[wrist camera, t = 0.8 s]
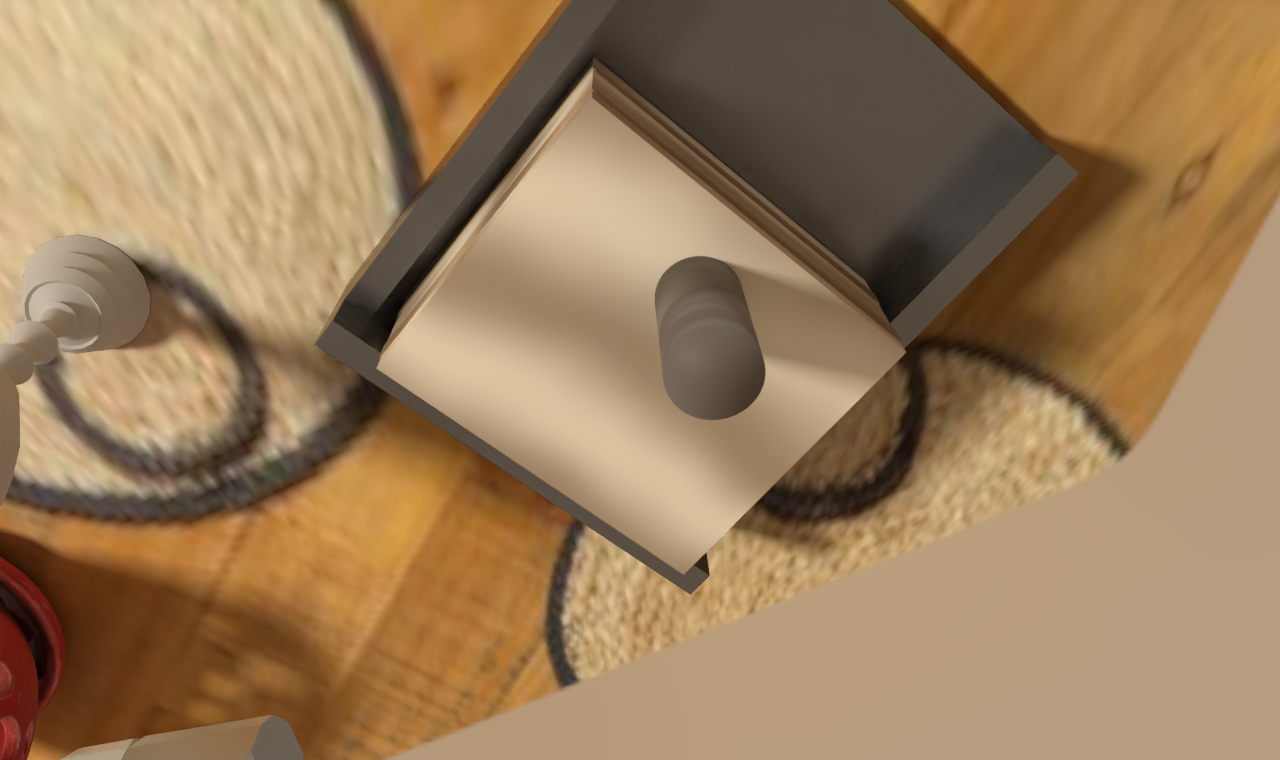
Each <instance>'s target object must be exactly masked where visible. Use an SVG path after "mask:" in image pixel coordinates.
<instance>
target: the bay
mask: <svg viewBox="0 0 1280 760" xmlns="http://www.w3.org/2000/svg"><path fill="white" fill-rule="evenodd" d="M593 56H594V57H595V58H596V59H597V60H599V61H600V62H601V63H602V64H603V65H605V66H606V67H607V68H608V69H609V70H611V71H612V72H613V73H614V74H615V75H617V76H618V77H619V78H620V79H622V80H623V81H624V82H625V83H626V84H628V85H629V86H630V87H631V88H632V89H634V90H635V91H636V92H637V93H639V94H640V95H641V96H642V97H643V98H645V99H646V100H647V101H648V102H649V103H651V104H652V105H653V106H654V107H656V108H657V109H658V110H659V111H660V112H662V113H663V114H664V115H665V116H666V117H668V118H669V119H670V120H671V121H673V122H674V123H675V124H676V125H677V126H679V127H680V128H681V129H682V130H683V131H685V132H686V133H687V134H688V135H689V136H691V137H692V138H693V139H694V140H696V141H697V142H698V143H699V144H700V145H702V146H703V147H704V148H705V149H706V150H708V151H709V152H710V153H711V154H713V155H714V156H715V157H716V158H717V159H719V160H720V161H721V162H722V163H723V164H725V165H726V166H727V167H728V168H730V169H731V170H732V171H733V172H734V173H736V174H737V175H738V176H739V177H740V178H742V179H743V180H744V181H745V182H746V183H748V184H749V185H750V186H751V187H753V188H754V189H755V190H756V191H757V192H759V193H760V194H761V195H762V196H763V197H765V198H766V199H767V200H768V201H770V202H771V203H772V204H773V205H774V206H776V207H777V208H778V209H779V210H780V211H782V212H783V213H784V214H785V215H787V216H788V217H789V218H790V219H791V220H793V221H794V222H795V223H796V224H797V225H799V226H800V227H801V228H802V229H803V230H805V231H806V232H807V233H808V234H810V235H811V236H812V237H813V238H814V239H816V240H817V241H818V242H819V243H820V244H822V245H823V246H824V247H825V248H827V249H828V250H829V251H830V252H831V253H833V254H834V255H835V256H836V257H837V258H839V259H840V260H841V261H842V262H844V263H845V264H846V265H847V266H848V267H850V268H851V269H852V270H853V271H854V272H856V273H857V274H858V275H859V276H860V277H862V278H863V279H864V280H865V281H866V283H867V285H868V286H869V288H870V290H871V291H872V292H873V293H874V294H875V295H876V297H877V299H878V300H879V302H880V304H879V306H880V307H881V309H882V311H883V313H884V314H885V316H886V318H887V320H888V321H889V323H890V325H891V326H892V327H893V328H894V329H895V330H896V332H897V333H898V335H899V337H900V339H901V340H902V341H901V344H902V346H903V347H904V349H905V348H906V347H907V346H908V345H909V344H910V343H911V342H912V341H913V340H914V339H915V338H916V337H917V336H918V335H919V334H920V333H921V332H922V331H923V330H924V329H925V328H926V327H927V326H928V325H929V324H930V323H931V322H932V321H933V320H934V319H935V318H936V317H937V316H938V315H939V314H940V313H941V312H942V311H943V310H944V309H945V308H946V307H947V306H948V305H949V304H950V303H951V302H952V301H953V300H954V299H955V298H956V297H957V296H958V295H959V294H960V293H961V292H962V291H963V290H964V289H965V288H966V287H967V286H968V285H969V284H970V283H971V282H972V281H973V280H974V279H975V278H976V277H977V276H978V275H979V274H980V273H981V272H982V271H983V270H984V269H985V268H986V267H987V266H988V265H989V264H990V263H991V262H992V261H993V260H994V259H995V258H996V257H997V256H998V255H999V254H1000V253H1001V252H1002V251H1003V250H1004V249H1005V248H1006V247H1007V246H1008V245H1009V244H1010V243H1011V242H1012V241H1013V240H1014V239H1015V238H1016V237H1017V236H1018V235H1019V234H1020V233H1021V232H1022V231H1023V230H1024V229H1025V228H1026V227H1027V226H1028V225H1029V224H1030V223H1031V222H1032V221H1033V220H1034V219H1035V218H1036V217H1037V216H1038V215H1039V214H1040V213H1041V212H1042V211H1043V210H1044V209H1045V208H1046V207H1047V206H1048V205H1049V204H1050V203H1051V202H1052V201H1053V200H1054V199H1055V198H1056V197H1057V196H1058V195H1059V194H1060V193H1061V192H1062V191H1063V190H1064V189H1065V188H1066V187H1067V186H1068V185H1069V184H1070V183H1071V182H1072V181H1073V180H1074V179H1075V178H1076V177H1077V176H1078V175H1079V173H1078V172H1077V171H1076V170H1075V169H1074V168H1073V167H1072V166H1071V165H1070V164H1068V163H1067V162H1066V161H1065V160H1064V159H1063V158H1062V157H1061V156H1060V155H1059V154H1058V153H1056V152H1055V151H1054V150H1052V149H1051V148H1050V147H1048V146H1047V145H1045V144H1044V143H1043V142H1041V141H1040V140H1039V139H1037V138H1036V137H1034V136H1033V135H1032V134H1030V133H1029V132H1028V131H1027V130H1026V129H1025V128H1024V127H1023V126H1022V125H1021V124H1020V123H1018V122H1017V121H1016V120H1015V119H1014V118H1013V117H1012V116H1011V115H1010V114H1009V113H1008V112H1007V111H1006V110H1005V109H1003V108H1002V107H1001V106H1000V105H999V104H998V103H997V102H996V101H995V100H994V99H993V98H992V97H991V96H990V95H989V94H987V93H986V92H985V91H984V90H983V89H982V88H981V87H980V86H979V85H978V84H977V83H976V82H975V81H974V80H972V79H971V78H970V77H969V76H968V75H967V74H966V73H965V72H964V71H963V70H962V69H961V68H960V67H959V66H958V65H956V64H955V63H954V62H953V61H952V60H951V59H950V58H949V57H948V56H947V55H946V54H945V53H944V52H943V51H941V50H940V49H939V48H938V47H937V46H936V45H935V44H934V43H933V42H932V41H931V40H930V39H929V38H928V37H927V36H925V35H924V34H923V33H922V32H921V31H920V30H919V29H918V28H917V27H916V26H915V25H914V24H913V23H912V22H910V21H909V20H908V19H907V18H906V17H905V16H904V15H903V14H902V13H901V12H900V11H899V10H898V9H897V8H896V7H894V6H893V5H892V4H891V3H890V2H889V1H888V0H563V1H562V2H561V4H560V5H559V6H558V8H557V9H556V10H555V12H554V13H553V14H552V16H551V17H550V18H549V20H548V21H547V22H546V24H545V25H544V26H543V28H542V29H541V30H540V31H539V33H538V34H537V35H536V37H535V38H534V39H533V41H532V42H531V43H530V45H529V46H528V47H527V49H526V50H525V51H524V53H523V54H522V55H521V57H520V58H519V59H518V60H517V62H516V63H515V64H514V66H513V67H512V68H511V70H510V71H509V72H508V74H507V75H506V76H505V78H504V79H503V80H502V82H501V83H500V84H499V85H498V87H497V88H496V89H495V91H494V92H493V93H492V95H491V96H490V97H489V99H488V100H487V101H486V103H485V104H484V105H483V107H482V108H481V109H480V111H479V112H478V113H477V114H476V116H475V117H474V118H473V120H472V121H471V122H470V124H469V125H468V126H467V128H466V129H465V130H464V132H463V133H462V134H461V136H460V137H459V138H458V140H457V141H456V142H455V143H454V145H453V146H452V147H451V149H450V150H449V151H448V153H447V154H446V155H445V157H444V158H443V159H442V161H441V162H440V163H439V165H438V166H437V167H436V168H435V170H434V171H433V172H432V174H431V175H430V176H429V178H428V179H427V180H426V182H425V183H424V184H423V186H422V187H421V188H420V190H419V191H418V192H417V194H416V195H415V196H414V197H413V199H412V200H411V201H410V203H409V204H408V205H407V207H406V208H405V209H404V211H403V212H402V213H401V215H400V216H399V217H398V219H397V220H396V221H395V223H394V224H393V225H392V226H391V228H390V229H389V230H388V232H387V233H386V234H385V236H384V237H383V238H382V240H381V241H380V242H379V244H378V245H377V246H376V248H375V249H374V250H373V251H372V253H371V254H370V255H369V257H368V258H367V259H366V261H365V262H364V263H363V265H362V266H361V267H360V269H359V270H358V271H357V273H356V274H355V275H354V277H353V278H352V279H351V280H350V282H349V283H348V284H347V286H346V288H345V290H344V292H343V294H342V295H341V297H340V299H339V301H338V303H337V304H336V306H335V308H334V310H333V312H332V314H331V315H330V317H329V319H328V321H327V323H326V324H325V326H324V328H323V330H322V332H321V334H320V335H319V337H318V339H317V341H316V343H315V345H316V346H318V347H319V348H321V349H322V350H324V351H325V352H327V353H328V354H330V355H331V356H333V357H334V358H336V359H337V360H339V361H340V362H342V363H343V364H345V365H346V366H348V367H349V368H351V369H352V370H354V371H355V372H357V373H358V374H360V375H361V376H363V377H364V378H366V379H367V380H369V381H370V382H372V383H373V384H375V385H376V386H378V387H379V388H381V389H382V390H384V391H385V392H387V393H388V394H390V395H391V396H393V397H394V398H396V399H397V400H399V401H400V402H402V403H403V404H405V405H406V406H408V407H409V408H411V409H412V410H414V411H415V412H417V413H418V414H420V415H421V416H423V417H424V418H426V419H427V420H429V421H430V422H432V423H433V424H435V425H436V426H438V427H439V428H441V429H442V430H444V431H445V432H447V433H448V434H450V435H451V436H453V437H454V438H456V439H457V440H459V441H460V442H462V443H463V444H465V445H466V446H468V447H469V448H471V449H472V450H474V451H475V452H477V453H478V454H480V455H481V456H483V457H484V458H486V459H487V460H489V461H490V462H492V463H493V464H495V465H496V466H498V467H499V468H501V469H502V470H504V471H505V472H507V473H508V474H510V475H511V476H513V477H514V478H516V479H517V480H519V481H520V482H522V483H523V484H525V485H526V486H528V487H529V488H531V489H532V490H534V491H535V492H537V493H538V494H540V495H542V496H543V497H545V498H546V499H548V500H549V501H551V502H552V503H554V504H555V505H557V506H558V507H560V508H561V509H563V510H564V511H566V512H567V513H569V514H570V515H572V516H573V517H575V518H576V519H578V520H579V521H581V522H582V523H584V524H585V525H587V526H588V527H590V528H591V529H593V530H594V531H596V532H597V533H599V534H600V535H602V536H603V537H605V538H606V539H608V540H609V541H611V542H612V543H614V544H615V545H617V546H618V547H620V548H621V549H623V550H624V551H626V552H627V553H629V554H630V555H632V556H633V557H635V558H636V559H638V560H639V561H641V562H642V563H644V564H645V565H647V566H648V567H650V568H651V569H653V570H654V571H656V572H657V573H659V574H660V575H662V576H663V577H665V578H666V579H668V580H669V581H671V582H672V583H674V584H675V585H677V586H678V587H680V588H681V589H683V590H684V591H686V592H687V593H689V594H690V595H691V594H692V593H693V592H694V591H695V590H696V589H697V588H698V587H699V586H700V585H701V584H702V583H703V582H704V581H705V580H706V579H707V578H708V577H709V576H710V575H709V568H708V561H707V554H706V553H705V554H704V555H703V556H702V557H701V558H700V559H699V560H698V561H697V562H696V563H695V564H694V565H693V566H692V567H691V568H690V569H689V570H688V571H687V572H686V573H685V574H684V575H683V574H682V573H680V572H679V571H677V570H676V569H674V568H673V567H671V566H670V565H668V564H667V563H665V562H664V561H662V560H661V559H659V558H658V557H656V556H655V555H654V554H652V553H651V552H649V551H648V550H646V549H645V548H643V547H642V546H640V545H639V544H637V543H636V542H634V541H633V540H631V539H630V538H628V537H627V536H625V535H624V534H622V533H621V532H619V531H618V530H616V529H615V528H613V527H612V526H610V525H609V524H607V523H606V522H604V521H603V520H601V519H600V518H598V517H597V516H595V515H594V514H592V513H591V512H589V511H588V510H586V509H585V508H583V507H582V506H580V505H579V504H578V503H576V502H575V501H573V500H572V499H570V498H569V497H567V496H566V495H564V494H563V493H561V492H560V491H558V490H557V489H555V488H554V487H552V486H551V485H549V484H548V483H546V482H545V481H543V480H542V479H540V478H539V477H537V476H536V475H534V474H533V473H531V472H530V471H528V470H527V469H525V468H524V467H522V466H521V465H519V464H518V463H516V462H515V461H513V460H512V459H510V458H509V457H507V456H506V455H504V454H503V453H502V452H500V451H499V450H497V449H496V448H494V447H493V446H491V445H490V444H488V443H487V442H485V441H484V440H482V439H481V438H479V437H478V436H476V435H475V434H473V433H472V432H470V431H469V430H467V429H466V428H464V427H463V426H461V425H460V424H458V423H457V422H455V421H454V420H452V419H451V418H449V417H448V416H446V415H445V414H443V413H442V412H440V411H439V410H437V409H436V408H434V407H433V406H431V405H430V404H428V403H427V402H426V401H424V400H423V399H421V398H420V397H418V396H417V395H415V394H414V393H412V392H411V391H409V390H408V389H406V388H405V387H403V386H402V385H400V384H399V383H397V382H396V381H394V380H393V379H391V378H390V377H388V376H387V375H385V374H384V373H382V372H381V371H379V370H378V369H376V368H377V366H378V363H379V361H380V358H381V357H379V356H380V354H381V352H382V349H383V347H384V345H385V343H386V342H387V341H388V339H389V337H390V334H391V332H392V329H393V327H394V325H395V322H396V320H397V319H396V316H397V313H398V311H399V308H400V307H401V306H402V304H403V303H404V300H405V298H406V296H407V293H408V292H409V291H410V289H411V288H412V287H413V286H414V284H415V283H416V282H417V281H418V279H419V278H420V277H421V275H422V274H423V273H424V272H425V270H426V269H427V268H428V267H429V265H430V264H431V263H432V261H433V260H434V259H435V258H436V256H437V255H438V254H439V253H440V251H441V250H442V249H443V247H444V246H445V245H446V244H447V242H448V241H449V240H450V239H451V237H452V236H453V235H454V233H455V232H456V231H457V230H458V228H459V227H460V226H461V225H462V223H463V222H464V221H465V219H466V218H467V217H468V216H469V214H470V213H471V212H472V210H473V209H474V208H475V207H476V205H477V204H478V203H479V202H480V200H481V199H482V198H483V196H484V195H485V194H486V193H487V191H488V190H489V189H490V188H491V186H492V185H493V184H494V182H495V181H496V180H497V179H498V177H499V176H500V175H501V174H502V172H503V171H504V170H505V168H506V167H507V166H508V165H509V163H510V162H511V161H512V160H513V158H514V157H515V156H516V154H517V153H518V152H519V151H520V149H521V148H522V147H523V146H524V144H525V143H526V142H527V140H528V139H529V138H530V137H531V135H532V134H533V133H534V132H535V130H536V129H537V128H538V126H539V125H540V124H541V123H542V121H543V120H544V119H545V117H546V116H547V115H548V114H549V112H550V111H551V110H552V109H553V107H554V106H555V105H556V103H557V102H558V101H559V100H560V98H561V97H562V96H563V95H564V93H565V92H566V91H567V89H568V88H569V87H570V86H571V84H572V83H573V82H574V81H575V79H576V78H577V77H578V75H579V74H580V73H581V72H582V70H583V69H584V68H585V67H586V65H587V64H588V63H589V61H590V60H591V59H592V58H593Z"/></svg>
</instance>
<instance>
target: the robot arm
mask: <svg viewBox="0 0 1280 760" xmlns="http://www.w3.org/2000/svg"><path fill="white" fill-rule="evenodd" d="M303 759H304V754H303V752H302V750H301V748H300V745H299V743H298V741H297V739H296V737H295V735H294V733H293V731H292V728H291V726H290V724H289V722H288V721H286V720H284V719H282V718H279V717H277V716H275V715H269V716H263V717H257V718H251V719H245V720H238V721H232V722H226V723H220V724H214V725H208V726H202V727H196V728H190V729H184V730H178V731H172V732H166V733H160V734H154V735H148V736H144V737H143V738H133V739H128V740H122V741H117V742H111V743H106V744H100V745H94V746H89V747H83V748H79V749H77V750H75V751H74V752H72V753H70V754H69V755H67V756H65V757H64V758H62V759H60V760H303Z"/></svg>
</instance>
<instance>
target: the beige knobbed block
mask: <svg viewBox="0 0 1280 760" xmlns="http://www.w3.org/2000/svg"><path fill="white" fill-rule="evenodd" d="M879 304H880V302H879V300H878V299H877V297H876V295H875V294H874V293H873V292H872V291H871V290H870V288H869V286H868V285H867V283H866V281H865V280H864V279H863V278H862V277H860V276H859V275H858V274H857V273H856V272H854V271H853V270H852V269H851V268H850V267H848V266H847V265H846V264H845V263H844V262H842V261H841V260H840V259H839V258H837V257H836V256H835V255H834V254H833V253H831V252H830V251H829V250H828V249H827V248H825V247H824V246H823V245H822V244H820V243H819V242H818V241H817V240H816V239H814V238H813V237H812V236H811V235H810V234H808V233H807V232H806V231H805V230H803V229H802V228H801V227H800V226H799V225H797V224H796V223H795V222H794V221H793V220H791V219H790V218H789V217H788V216H787V215H785V214H784V213H783V212H782V211H780V210H779V209H778V208H777V207H776V206H774V205H773V204H772V203H771V202H770V201H768V200H767V199H766V198H765V197H763V196H762V195H761V194H760V193H759V192H757V191H756V190H755V189H754V188H753V187H751V186H750V185H749V184H748V183H746V182H745V181H744V180H743V179H742V178H740V177H739V176H738V175H737V174H736V173H734V172H733V171H732V170H731V169H730V168H728V167H727V166H726V165H725V164H723V163H722V162H721V161H720V160H719V159H717V158H716V157H715V156H714V155H713V154H711V153H710V152H709V151H708V150H706V149H705V148H704V147H703V146H702V145H700V144H699V143H698V142H697V141H696V140H694V139H693V138H692V137H691V136H689V135H688V134H687V133H686V132H685V131H683V130H682V129H681V128H680V127H679V126H677V125H676V124H675V123H674V122H673V121H671V120H670V119H669V118H668V117H666V116H665V115H664V114H663V113H662V112H660V111H659V110H658V109H657V108H656V107H654V106H653V105H652V104H651V103H649V102H648V101H647V100H646V99H645V98H643V97H642V96H641V95H640V94H639V93H637V92H636V91H635V90H634V89H632V88H631V87H630V86H629V85H628V84H626V83H625V82H624V81H623V80H622V79H620V78H619V77H618V76H617V75H615V74H614V73H613V72H612V71H611V70H609V69H608V68H607V67H606V66H605V65H603V64H602V63H601V62H600V61H599V60H597V59H596V58H595V57H594V56H593V58H592V59H591V60H590V61H589V63H588V64H587V65H586V67H585V68H584V69H583V70H582V72H581V73H580V74H579V75H578V77H577V78H576V79H575V81H574V82H573V83H572V84H571V86H570V87H569V88H568V89H567V91H566V92H565V93H564V95H563V96H562V97H561V98H560V100H559V101H558V102H557V103H556V105H555V106H554V107H553V109H552V110H551V111H550V112H549V114H548V115H547V116H546V117H545V119H544V120H543V121H542V123H541V124H540V125H539V126H538V128H537V129H536V130H535V132H534V133H533V134H532V135H531V137H530V138H529V139H528V140H527V142H526V143H525V144H524V146H523V147H522V148H521V149H520V151H519V152H518V153H517V154H516V156H515V157H514V158H513V160H512V161H511V162H510V163H509V165H508V166H507V167H506V168H505V170H504V171H503V172H502V174H501V175H500V176H499V177H498V179H497V180H496V181H495V182H494V184H493V185H492V186H491V188H490V189H489V190H488V191H487V193H486V194H485V195H484V196H483V198H482V199H481V200H480V202H479V203H478V204H477V205H476V207H475V208H474V209H473V210H472V212H471V213H470V214H469V216H468V217H467V218H466V219H465V221H464V222H463V223H462V225H461V226H460V227H459V228H458V230H457V231H456V232H455V233H454V235H453V236H452V237H451V239H450V240H449V241H448V242H447V244H446V245H445V246H444V247H443V249H442V250H441V251H440V253H439V254H438V255H437V256H436V258H435V259H434V260H433V261H432V263H431V264H430V265H429V267H428V268H427V269H426V270H425V272H424V273H423V274H422V275H421V277H420V278H419V279H418V281H417V282H416V283H415V284H414V286H413V287H412V288H411V289H410V291H409V292H408V293H407V296H406V298H405V300H404V303H403V304H402V306H401V307H400V308H399V311H398V313H397V316H396V319H397V320H396V322H395V325H394V327H393V329H392V332H391V334H390V337H389V339H388V341H387V342H386V343H385V345H384V347H383V349H382V352H381V354H380V356H379V357H381V358H380V361H379V363H378V366H377V368H376V369H378V370H379V371H381V372H382V373H384V374H385V375H387V376H388V377H390V378H391V379H393V380H394V381H396V382H397V383H399V384H400V385H402V386H403V387H405V388H406V389H408V390H409V391H411V392H412V393H414V394H415V395H417V396H418V397H420V398H421V399H423V400H424V401H426V402H427V403H428V404H430V405H431V406H433V407H434V408H436V409H437V410H439V411H440V412H442V413H443V414H445V415H446V416H448V417H449V418H451V419H452V420H454V421H455V422H457V423H458V424H460V425H461V426H463V427H464V428H466V429H467V430H469V431H470V432H472V433H473V434H475V435H476V436H478V437H479V438H481V439H482V440H484V441H485V442H487V443H488V444H490V445H491V446H493V447H494V448H496V449H497V450H499V451H500V452H502V453H503V454H504V455H506V456H507V457H509V458H510V459H512V460H513V461H515V462H516V463H518V464H519V465H521V466H522V467H524V468H525V469H527V470H528V471H530V472H531V473H533V474H534V475H536V476H537V477H539V478H540V479H542V480H543V481H545V482H546V483H548V484H549V485H551V486H552V487H554V488H555V489H557V490H558V491H560V492H561V493H563V494H564V495H566V496H567V497H569V498H570V499H572V500H573V501H575V502H576V503H578V504H579V505H580V506H582V507H583V508H585V509H586V510H588V511H589V512H591V513H592V514H594V515H595V516H597V517H598V518H600V519H601V520H603V521H604V522H606V523H607V524H609V525H610V526H612V527H613V528H615V529H616V530H618V531H619V532H621V533H622V534H624V535H625V536H627V537H628V538H630V539H631V540H633V541H634V542H636V543H637V544H639V545H640V546H642V547H643V548H645V549H646V550H648V551H649V552H651V553H652V554H654V555H655V556H656V557H658V558H659V559H661V560H662V561H664V562H665V563H667V564H668V565H670V566H671V567H673V568H674V569H676V570H677V571H679V572H680V573H682V574H683V575H684V574H685V573H686V572H687V571H688V570H689V569H690V568H691V567H692V566H693V565H694V564H695V563H696V562H697V561H698V560H699V559H700V558H701V557H702V556H703V555H704V554H705V553H706V552H707V551H708V550H709V549H710V548H711V547H712V546H713V545H714V544H715V543H716V542H717V541H718V540H719V539H720V538H721V537H722V536H723V535H724V534H725V533H726V532H727V531H728V530H729V529H730V528H731V527H732V526H733V525H734V524H735V523H736V522H737V521H738V520H739V519H740V518H741V517H742V516H743V515H744V514H745V513H746V512H747V511H748V510H749V509H750V508H751V507H752V506H753V505H754V504H755V503H756V502H757V501H758V500H759V499H760V498H761V497H762V496H763V495H764V494H765V493H766V492H767V491H768V490H769V489H770V488H771V487H772V486H773V485H774V484H775V483H776V482H777V481H778V480H779V479H780V478H781V477H782V476H783V475H784V474H785V473H786V472H787V471H788V470H789V469H790V468H791V467H792V466H793V465H794V464H795V463H796V462H797V461H798V460H799V459H800V458H801V457H802V456H803V455H804V454H805V453H806V452H807V451H808V450H809V449H810V448H811V447H812V446H813V445H814V444H815V443H816V442H817V441H818V440H819V439H820V438H821V437H822V436H823V435H824V434H825V433H826V432H827V431H828V430H829V429H830V428H831V427H832V426H833V425H834V424H835V423H836V422H837V421H838V420H839V419H840V418H841V417H842V416H843V415H844V414H845V413H846V412H847V411H848V410H849V409H850V408H851V407H852V406H853V405H854V404H855V403H856V402H857V401H858V400H859V399H860V398H861V397H862V396H863V395H864V394H865V393H866V392H867V391H868V390H869V389H870V388H871V387H872V386H873V385H874V384H875V383H876V382H877V381H878V380H879V379H880V378H881V377H882V376H883V375H884V374H885V373H886V372H887V371H888V370H889V369H890V368H891V367H892V366H893V365H894V364H895V363H896V362H897V361H898V360H899V359H900V358H901V357H902V356H903V355H904V354H905V353H906V351H905V349H904V347H903V346H902V344H901V341H902V340H901V339H900V337H899V335H898V333H897V332H896V330H895V329H894V328H893V327H892V326H891V325H890V323H889V321H888V320H887V318H886V316H885V314H884V313H883V311H882V309H881V307H880V306H879Z"/></svg>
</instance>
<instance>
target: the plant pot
mask: <svg viewBox="0 0 1280 760" xmlns="http://www.w3.org/2000/svg"><path fill="white" fill-rule="evenodd" d="M65 657H66V651H65V641H64V636H63V632H62V629H61V626H60V623H59V620H58V618H57V616H56V614H55V612H54V610H53V608H52V606H51V605H50V603H49V602H48V600H47V599H46V597H45V595H44V594H43V593H42V592H41V591H40V589H39V588H38V587H37V586H36V585H35V584H34V583H33V582H32V581H31V580H30V579H29V578H28V577H27V576H26V575H25V574H23V573H22V572H21V571H20V570H19V569H17V568H16V567H15V566H13V565H12V564H11V563H9V562H8V561H6V560H5V559H3V558H2V557H0V760H27V758H28V755H29V752H30V748H31V744H32V740H33V736H34V731H35V725H36V719H37V713H38V712H39V711H40V710H41V709H42V708H43V707H44V706H45V705H46V704H47V703H48V702H49V700H50V699H51V698H52V696H53V695H54V693H55V692H56V690H57V687H58V685H59V683H60V680H61V677H62V675H63V671H64V667H65Z"/></svg>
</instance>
